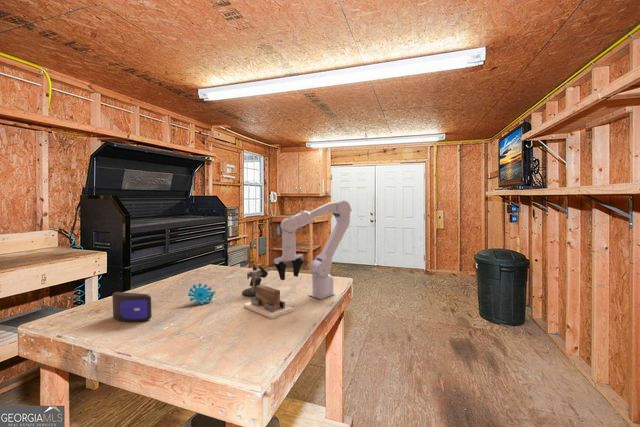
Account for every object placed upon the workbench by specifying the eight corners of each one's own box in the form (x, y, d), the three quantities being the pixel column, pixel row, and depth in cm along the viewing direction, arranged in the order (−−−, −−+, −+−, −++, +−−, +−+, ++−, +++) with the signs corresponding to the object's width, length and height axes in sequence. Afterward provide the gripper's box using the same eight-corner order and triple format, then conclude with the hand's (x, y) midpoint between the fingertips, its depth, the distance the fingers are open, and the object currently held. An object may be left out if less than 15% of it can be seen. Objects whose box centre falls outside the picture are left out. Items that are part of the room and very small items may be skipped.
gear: (189, 304, 116) (188, 282, 122) (186, 311, 119) (185, 290, 125) (217, 302, 122) (215, 281, 128) (213, 309, 125) (211, 289, 131)
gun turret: (283, 287, 144) (282, 261, 144) (257, 299, 126) (257, 269, 126) (262, 284, 150) (261, 259, 149) (235, 295, 132) (234, 267, 131)
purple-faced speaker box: (104, 320, 104) (104, 294, 104) (116, 315, 109) (115, 290, 108) (142, 324, 101) (141, 297, 100) (153, 319, 105) (152, 293, 105)
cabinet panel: (264, 300, 124) (264, 297, 124) (292, 311, 112) (292, 308, 112) (244, 306, 117) (243, 303, 117) (271, 318, 105) (271, 315, 104)
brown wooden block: (263, 301, 120) (262, 284, 120) (281, 308, 112) (281, 290, 112) (255, 303, 117) (255, 286, 117) (274, 310, 109) (274, 292, 109)
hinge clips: (263, 300, 121) (263, 294, 121) (285, 308, 112) (285, 301, 112) (251, 303, 117) (250, 297, 117) (272, 312, 107) (272, 306, 107)
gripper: (295, 243, 132) (295, 273, 133) (269, 247, 122) (269, 279, 122) (306, 245, 128) (306, 275, 128) (280, 249, 117) (280, 282, 117)
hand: (289, 278), depth 125 cm, fingers open, 7 cm apart
